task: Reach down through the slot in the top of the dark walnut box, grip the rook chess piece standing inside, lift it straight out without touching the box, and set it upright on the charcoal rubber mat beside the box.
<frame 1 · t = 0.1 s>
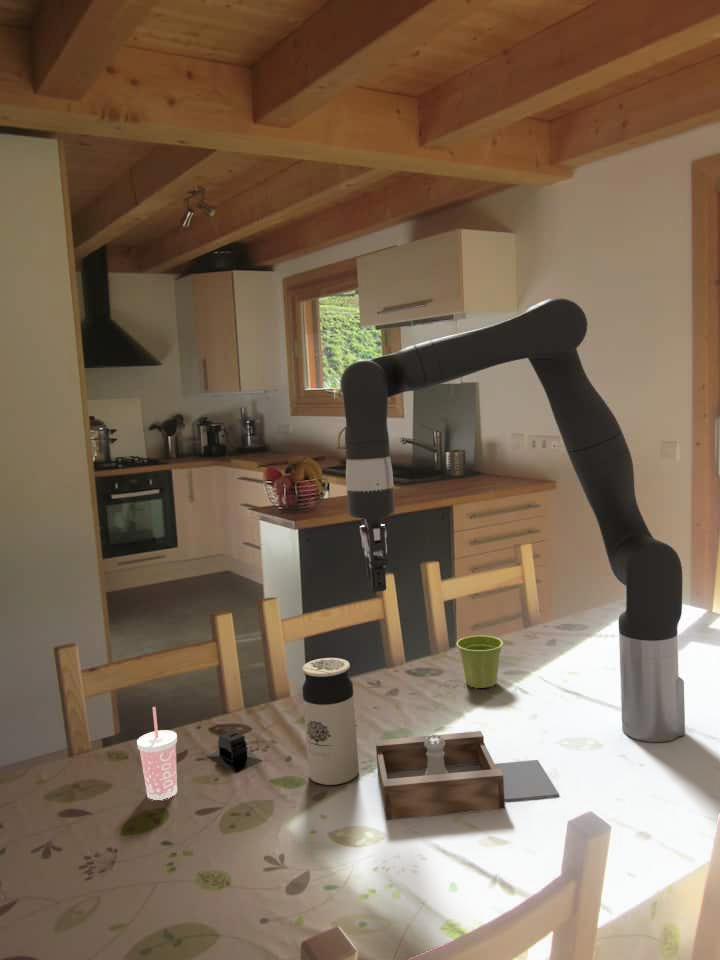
hand: (376, 584, 127), 29 cm above the table, tool pointing down, fingers open, 8 cm apart
beverage cup: (162, 794, 122), on the table
rook chess piece: (437, 789, 118), resting in slotted box
charcoal mat: (522, 780, 119), on the table
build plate: (233, 762, 133), on the table
slotted box: (437, 788, 118), on the table
travel mug: (334, 775, 125), on the table
plant pot: (481, 684, 159), on the table
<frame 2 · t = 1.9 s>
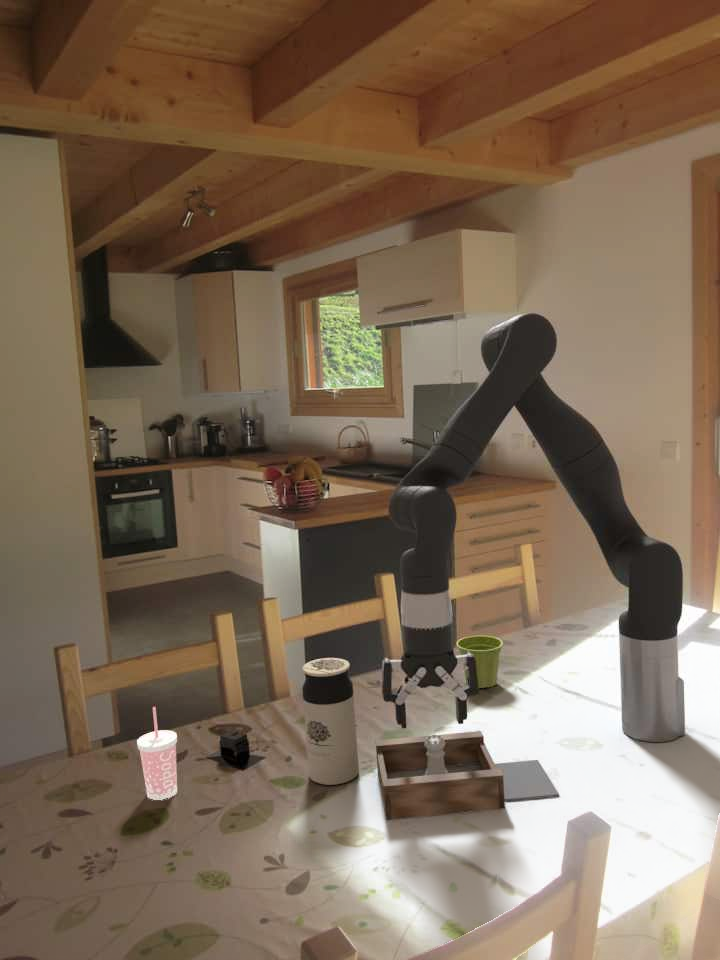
hand: (431, 724, 117), 10 cm above the table, tool pointing down, fingers open, 8 cm apart
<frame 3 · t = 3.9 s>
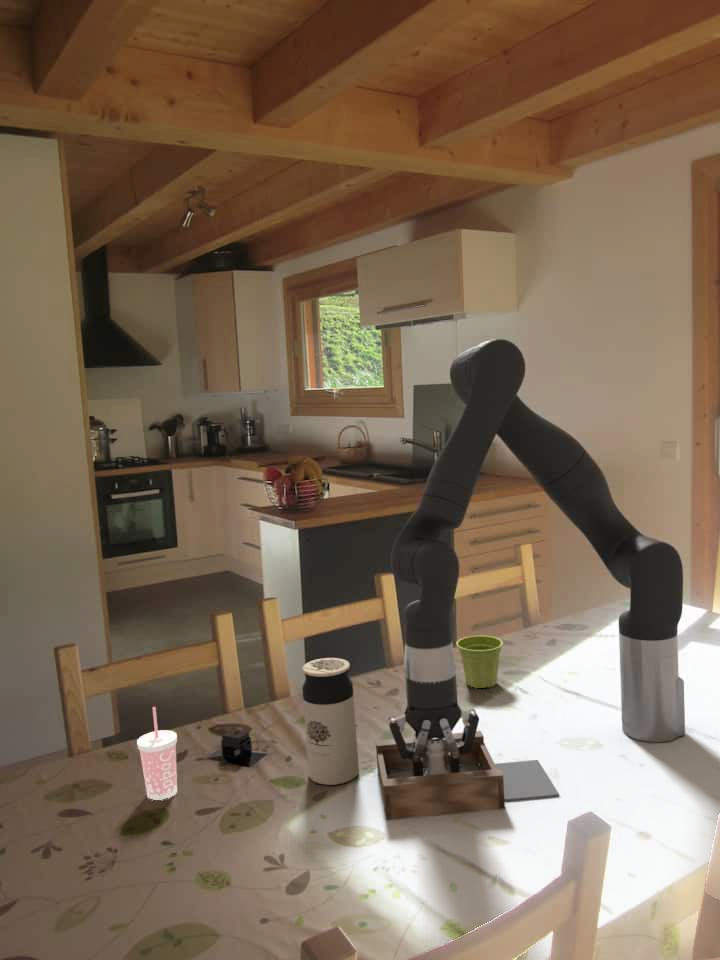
hand: (436, 780, 118), 1 cm above the table, tool pointing down, fingers closed on rook chess piece, 4 cm apart
rook chess piece: (437, 789, 118), resting in slotted box, touching gripper
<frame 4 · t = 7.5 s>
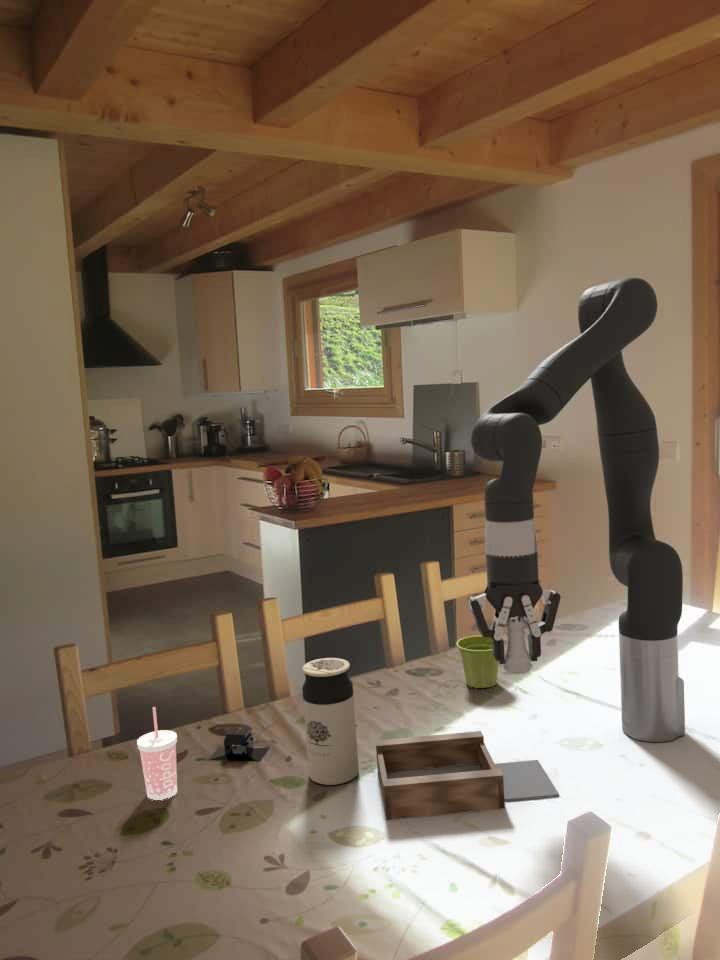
hand: (516, 660, 117), 19 cm above the table, tool pointing down, fingers closed on rook chess piece, 4 cm apart
rook chess piece: (517, 670, 117), point 17 cm above the table, touching gripper
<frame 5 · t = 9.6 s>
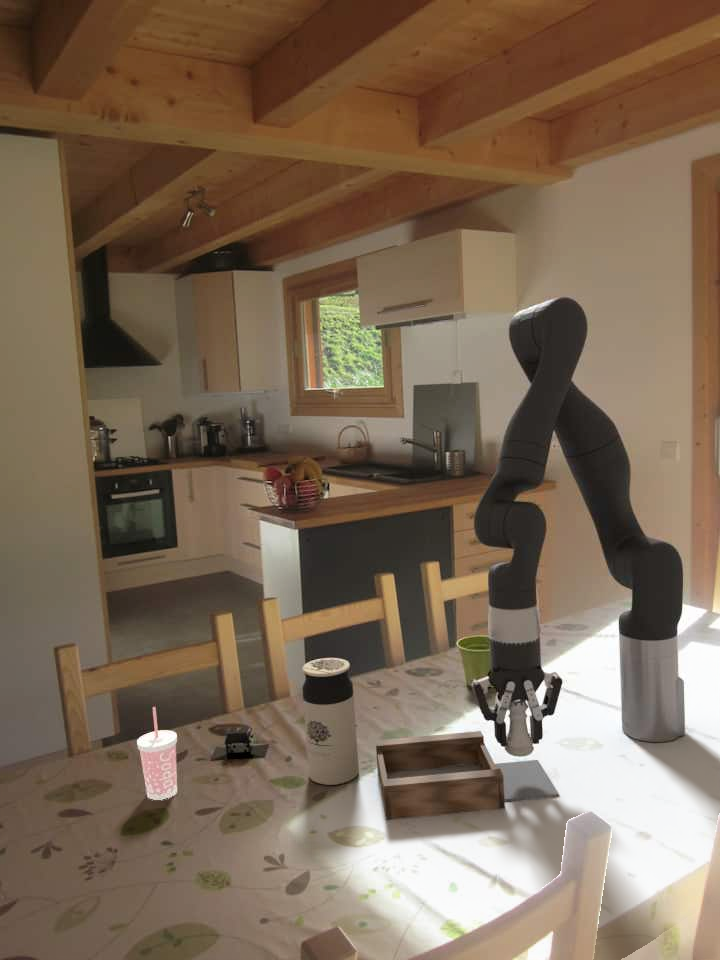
hand: (518, 742, 118), 6 cm above the table, tool pointing down, fingers closed on rook chess piece, 4 cm apart
rook chess piece: (519, 752, 118), point 4 cm above the table, touching gripper
when the fingers open (3 cm above the table, at t = 11.1 s): rook chess piece drops 1 cm, resting on charcoal mat.
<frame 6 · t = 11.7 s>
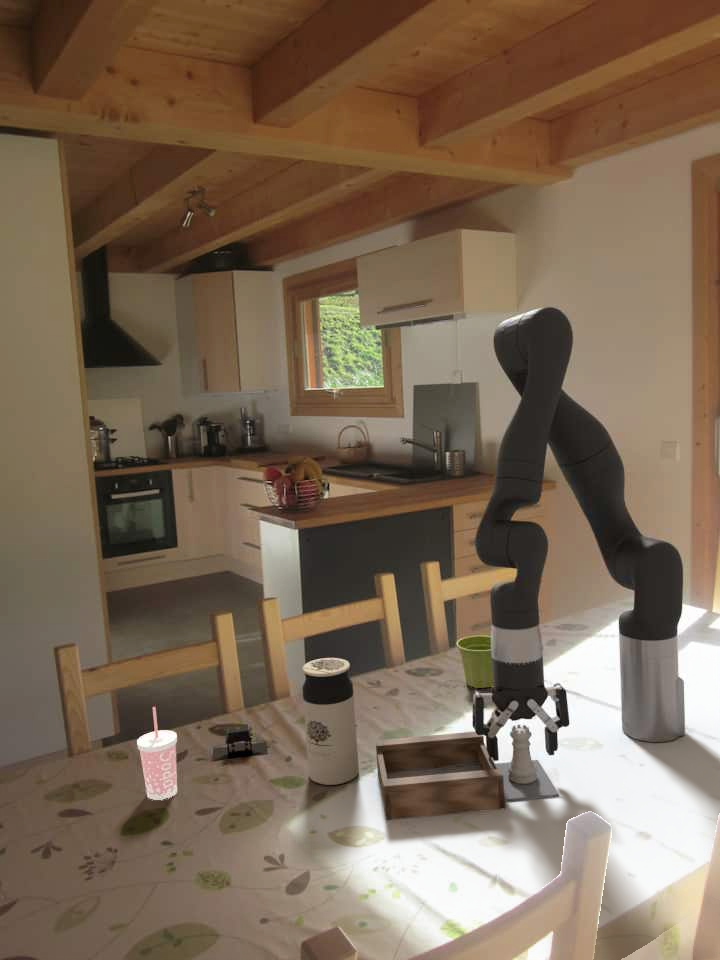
hand: (522, 755, 118), 4 cm above the table, tool pointing down, fingers open, 8 cm apart
rook chess piece: (522, 779, 119), resting on charcoal mat
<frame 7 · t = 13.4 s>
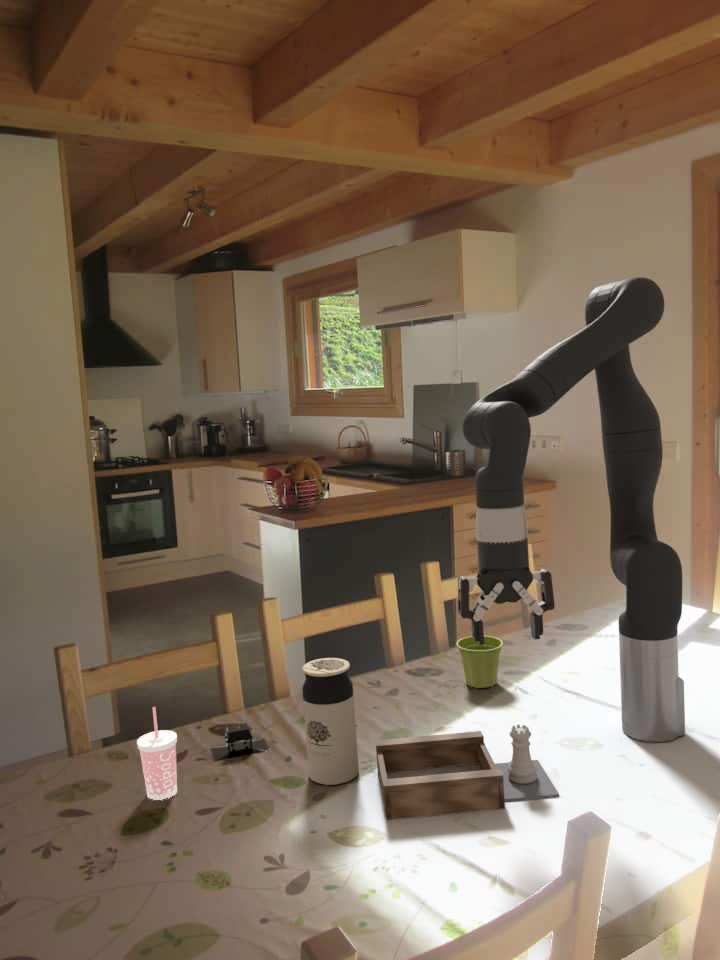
hand: (507, 640, 118), 21 cm above the table, tool pointing down, fingers open, 8 cm apart
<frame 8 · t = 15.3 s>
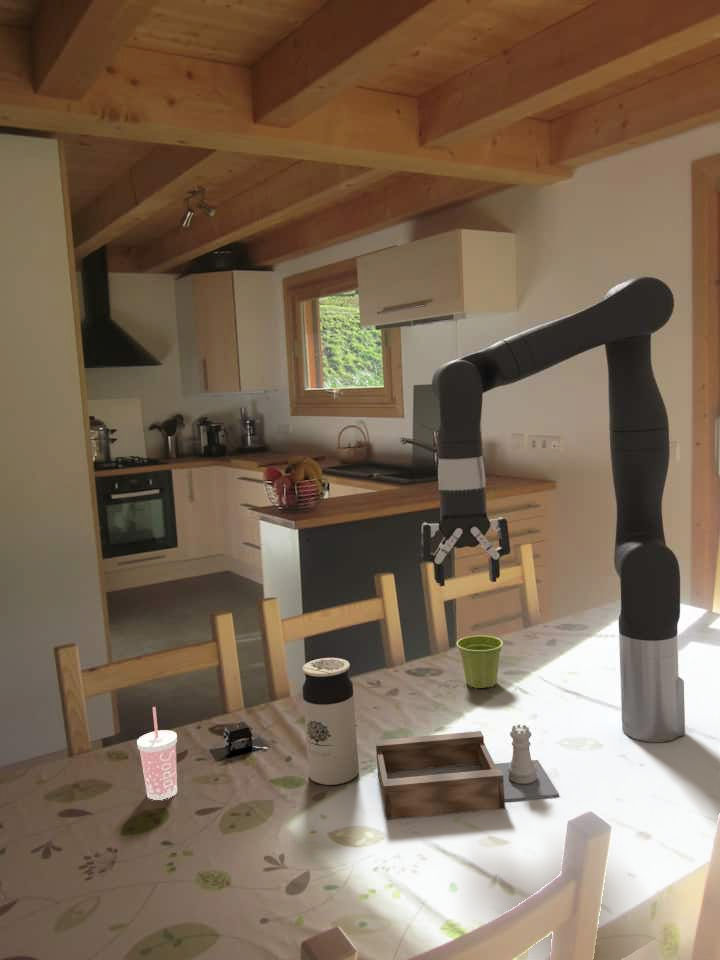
hand: (467, 583, 128), 28 cm above the table, tool pointing down, fingers open, 8 cm apart
at the end: rook chess piece inside the target area on the charcoal mat (0.1 cm from its centre), point 0.1 cm above the charcoal mat's base; rook chess piece tilted 0°; rook chess piece touching charcoal mat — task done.
